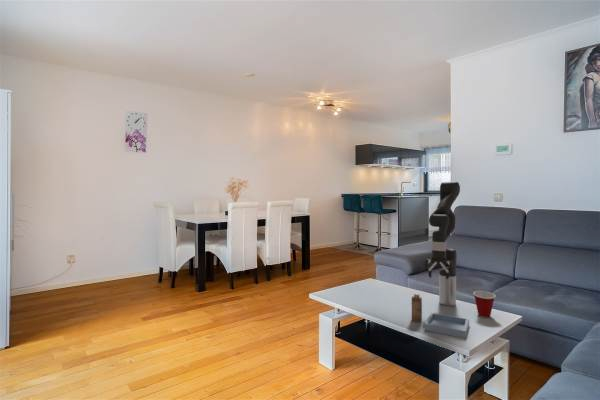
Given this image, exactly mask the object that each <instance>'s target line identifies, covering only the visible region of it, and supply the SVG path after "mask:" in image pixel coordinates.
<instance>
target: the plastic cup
mask: <svg viewBox="0 0 600 400" xmlns="http://www.w3.org/2000/svg"><path fill="white" fill-rule="evenodd" d="M472 293H473V294H472V295H473V296H474V300H475V306H476V310H477V314H478V316H480V317H483V318H490V317H491V316H492V309H493V306H494V305H493V304H494V300H495V299H496V297H497V296H496V294H494V293H493V292H489V291H487V290H486V291H484V290H476V291H473V292H472Z"/></svg>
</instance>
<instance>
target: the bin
mask: <svg viewBox="0 0 600 400" xmlns="http://www.w3.org/2000/svg"><path fill="white" fill-rule="evenodd" d="M469 326H470V319H469V318H467V317H460V316H454V315H449V314H444V313H443V314H442V313H438V312H430V314H429V316H428V318H427V319H426V321H425V322H424V331H428V332H432V333H438V334H442V335H449V336H453V337H459V338H463V339H466V338H467V335H468V330H469Z"/></svg>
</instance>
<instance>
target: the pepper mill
mask: <svg viewBox="0 0 600 400" xmlns="http://www.w3.org/2000/svg"><path fill="white" fill-rule="evenodd" d="M422 302H423V298H422V297H421V296H420V294H418V293H414V294H413V296H411V321H412V322H414V323H422V322H423V321H422V319H423V317H422V316H423V309H422V308H423V303H422Z"/></svg>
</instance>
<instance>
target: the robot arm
mask: <svg viewBox="0 0 600 400" xmlns="http://www.w3.org/2000/svg"><path fill="white" fill-rule="evenodd" d="M460 192H461V185H460V183H459V182H458V181H443V182H441V183H440V186H439V203H438V205H437V207H436V209H435V210H434V211H433V212H432V213H431V215H430V216H429V217H428V222H429V225H430V226H431V227H435V228H436V227H437V228H438V230H434V231H432V234H431V235H432V239H431V259H428V258H426V259H425V264H424V265H425V267H424V269H425V271H426V270H427V271H428V278H430V279H432V275H433V274H432V272H433V271H432V269H434V268H437V269H438V268H439V271H438V272H439V274H438V276H439V277H438V279H439V282H438V285H439V286H438V289H439V290H438V293H439V294H438V297H439V298H438V301H439V304H441V305H442V306H448V307H449V306H450V307H451V306H452V307H453V306H456V305H457V304H456V303H457V251H456V248H455V249H454V248H447V245H446V244H447V243H446V242H447V240H448V238H449V237H450V236H451V234H452V233H453V232H454V230H455V227H456V216H455V213H454V212H453V210H452V208H451V207H452V206H453V204H454V203H455V202H456V199H457V198H458V197H459V194H460ZM430 263H431V264H432V265H431V266H430V267H429V264H430ZM447 265H449V266H447Z"/></svg>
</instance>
